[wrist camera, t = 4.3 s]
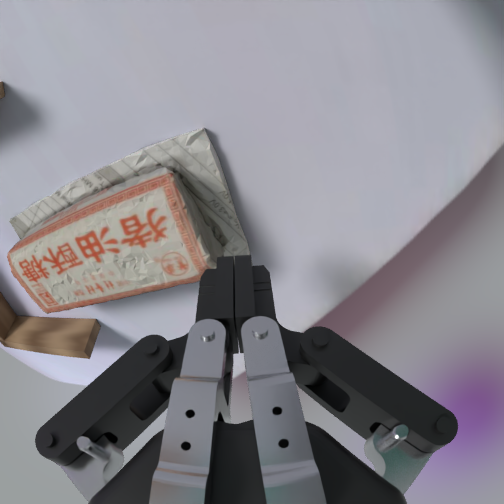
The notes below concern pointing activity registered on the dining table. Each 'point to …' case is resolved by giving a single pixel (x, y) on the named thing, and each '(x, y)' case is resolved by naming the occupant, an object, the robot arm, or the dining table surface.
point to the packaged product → (129, 227)
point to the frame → (46, 329)
